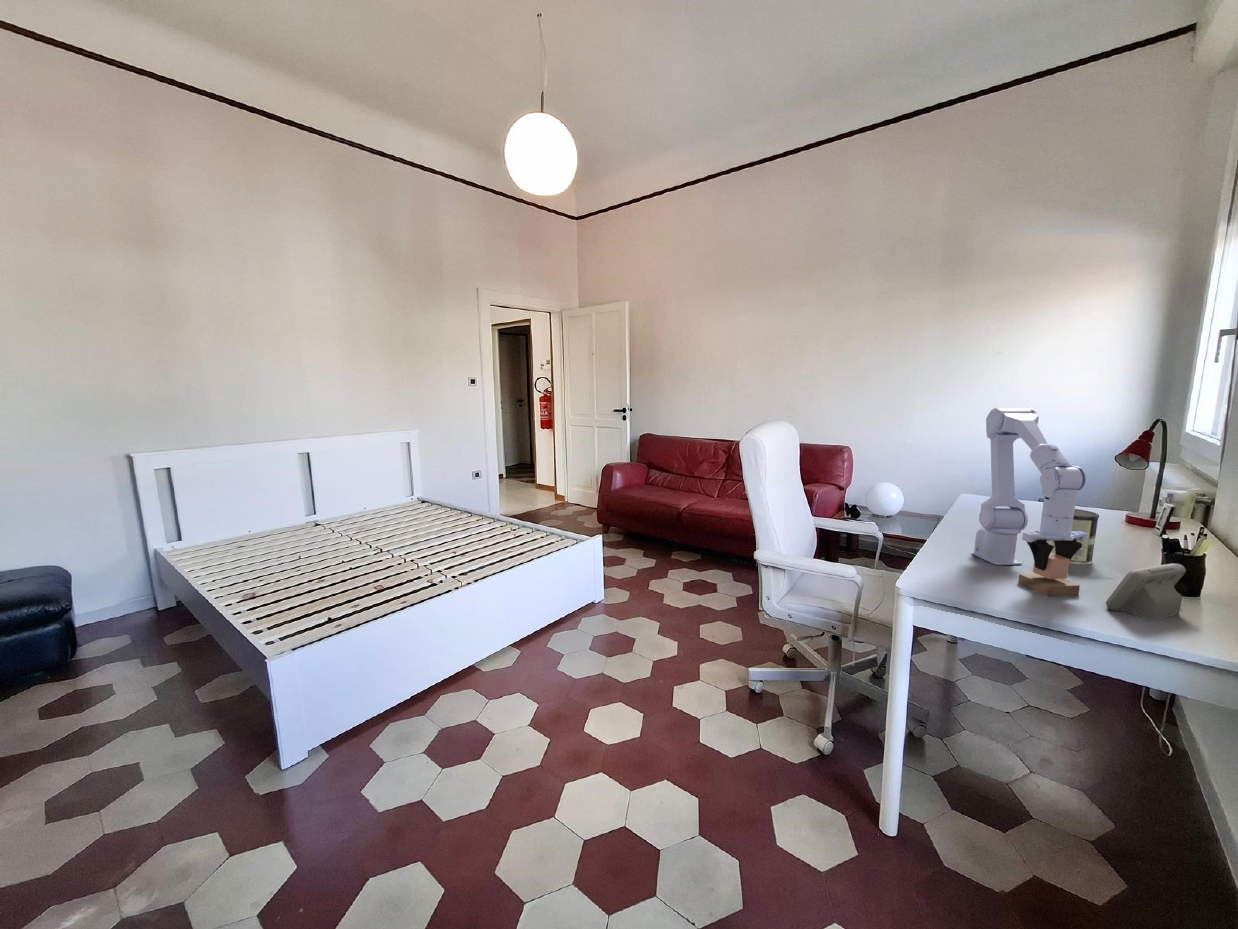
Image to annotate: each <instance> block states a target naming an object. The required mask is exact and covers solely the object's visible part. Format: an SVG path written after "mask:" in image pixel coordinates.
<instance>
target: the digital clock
mask: <svg viewBox="0 0 1238 929" xmlns="http://www.w3.org/2000/svg"><path fill="white" fill-rule="evenodd" d="M1186 572H1187V570H1186V568H1185V566H1184V565H1182V564H1181V563H1167V564H1160V565H1159V564H1158V565H1154V566H1148V567H1147V566H1146V567H1142V568H1136V569H1132V570H1130V571H1128V573H1127V574H1126V575H1125V576H1124V578H1123V579H1122V580H1121V581H1120V583H1119V584H1118V585H1117V587H1116V588H1115V589H1114V591H1112V593H1111V594H1110V595H1109V597H1108V598H1107V599H1106V601H1105V605H1106V608H1108V609H1109V610H1111V611H1118V612H1119V611H1120V612H1121V611H1126V612H1128V613H1132V614H1134V615H1137V616H1140V617H1143V618H1146V619H1147V620H1152V621H1153V620H1157V619H1161V618H1162V619H1163V618H1166V617H1173V616H1176V615H1180V610H1181V606H1182V600H1183V599H1182V598H1183V597H1182V594H1181V593H1179V592H1178V591H1177V590H1176V587H1175V585H1176V584H1178V582H1179V581H1180V580H1181V578H1182V577H1183V576H1184V575H1185V574H1186Z"/></svg>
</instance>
